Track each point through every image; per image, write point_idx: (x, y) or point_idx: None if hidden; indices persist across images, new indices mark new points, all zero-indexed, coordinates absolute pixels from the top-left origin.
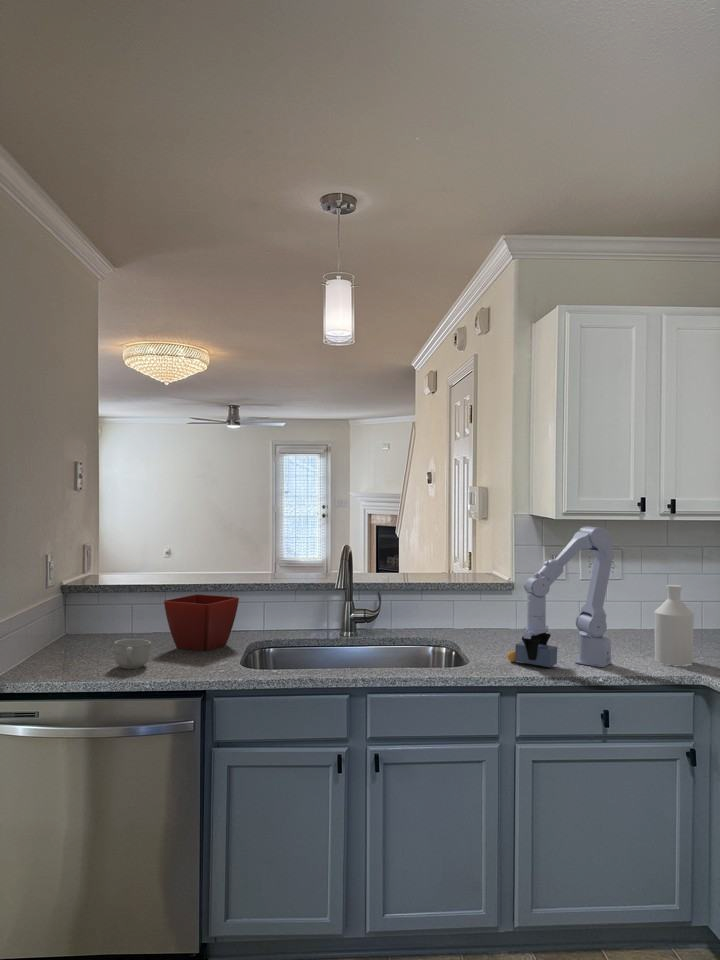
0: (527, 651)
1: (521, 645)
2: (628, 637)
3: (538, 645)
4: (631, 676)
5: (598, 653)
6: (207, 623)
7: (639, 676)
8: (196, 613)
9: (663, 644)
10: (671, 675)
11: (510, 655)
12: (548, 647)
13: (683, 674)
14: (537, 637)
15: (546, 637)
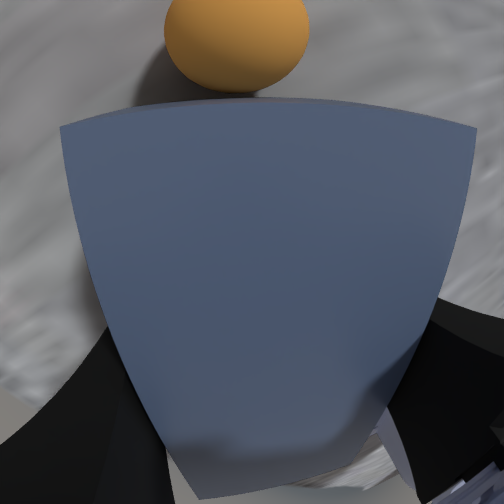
0: (95, 353)
1: (95, 285)
2: None
3: (311, 417)
4: (296, 485)
5: (401, 454)
6: None
7: (307, 486)
8: None
9: None
10: (349, 485)
11: (166, 18)
12: (281, 471)
13: (366, 481)
14: (468, 404)
15: (421, 475)
